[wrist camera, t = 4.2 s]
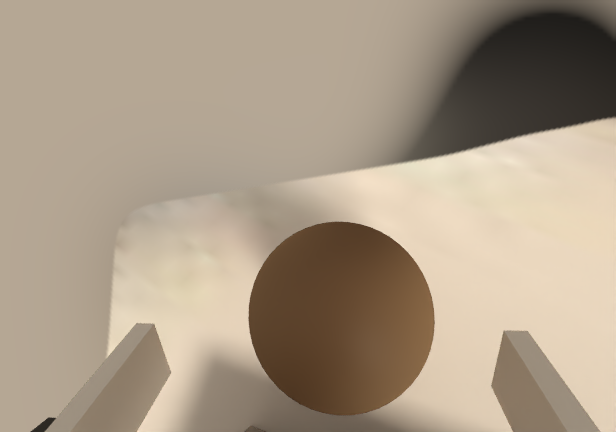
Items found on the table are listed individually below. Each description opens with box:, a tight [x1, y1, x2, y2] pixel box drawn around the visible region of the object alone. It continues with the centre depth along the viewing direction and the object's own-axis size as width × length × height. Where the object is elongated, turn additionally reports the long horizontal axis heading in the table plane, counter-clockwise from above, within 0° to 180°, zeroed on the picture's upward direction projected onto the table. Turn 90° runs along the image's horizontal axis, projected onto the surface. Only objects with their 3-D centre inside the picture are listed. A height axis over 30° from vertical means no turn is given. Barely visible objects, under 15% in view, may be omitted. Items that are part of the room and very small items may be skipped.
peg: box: [249, 222, 435, 415], centre depth 13 cm, size 4×4×13 cm
